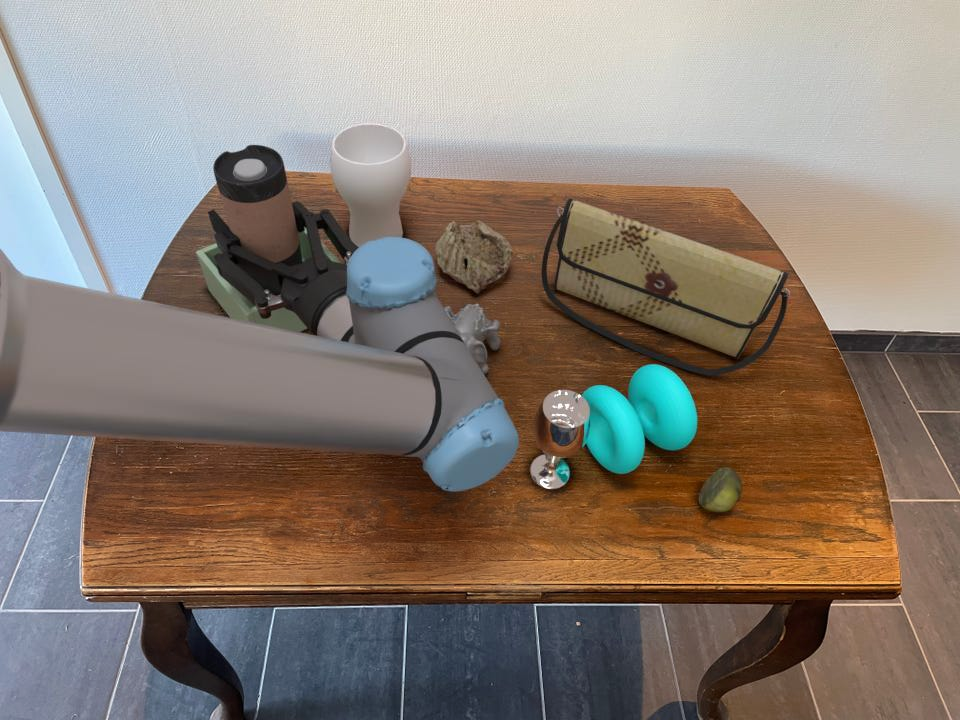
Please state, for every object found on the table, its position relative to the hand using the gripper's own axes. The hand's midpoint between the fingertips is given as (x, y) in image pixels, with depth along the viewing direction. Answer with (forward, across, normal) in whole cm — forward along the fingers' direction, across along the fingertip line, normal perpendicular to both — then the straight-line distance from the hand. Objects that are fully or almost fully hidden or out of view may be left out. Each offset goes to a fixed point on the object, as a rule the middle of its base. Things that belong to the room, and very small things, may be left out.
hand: (244, 207), depth 85 cm
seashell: (-15, +24, -12) cm, 31 cm away
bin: (-5, 0, -12) cm, 13 cm away
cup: (-1, +18, -12) cm, 21 cm away
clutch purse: (-38, +35, -12) cm, 53 cm away
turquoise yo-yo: (-49, +20, -12) cm, 54 cm away
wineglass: (-46, +11, -12) cm, 49 cm away
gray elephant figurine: (-29, +12, -12) cm, 33 cm away
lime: (-60, +23, -12) cm, 65 cm away
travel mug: (-5, 0, -11) cm, 12 cm away
